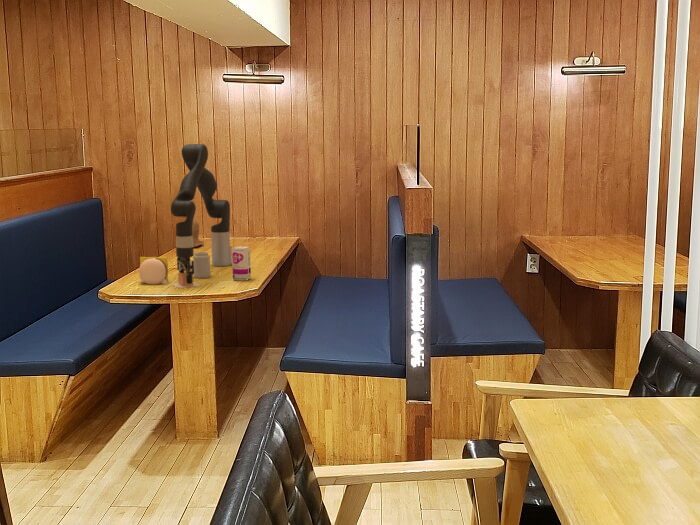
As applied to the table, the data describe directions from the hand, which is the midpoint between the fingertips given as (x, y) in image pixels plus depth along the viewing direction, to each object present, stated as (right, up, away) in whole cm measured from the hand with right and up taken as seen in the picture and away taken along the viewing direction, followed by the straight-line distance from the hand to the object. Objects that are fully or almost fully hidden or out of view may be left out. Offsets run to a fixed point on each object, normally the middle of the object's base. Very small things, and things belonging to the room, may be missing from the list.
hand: (185, 281), depth 348 cm
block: (0, -1, 0) cm, 1 cm away
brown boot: (-20, +18, +113) cm, 116 cm away
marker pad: (0, -2, 0) cm, 2 cm away
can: (+4, +1, +18) cm, 18 cm away
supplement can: (+23, +1, +15) cm, 27 cm away
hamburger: (-15, -1, +4) cm, 16 cm away
